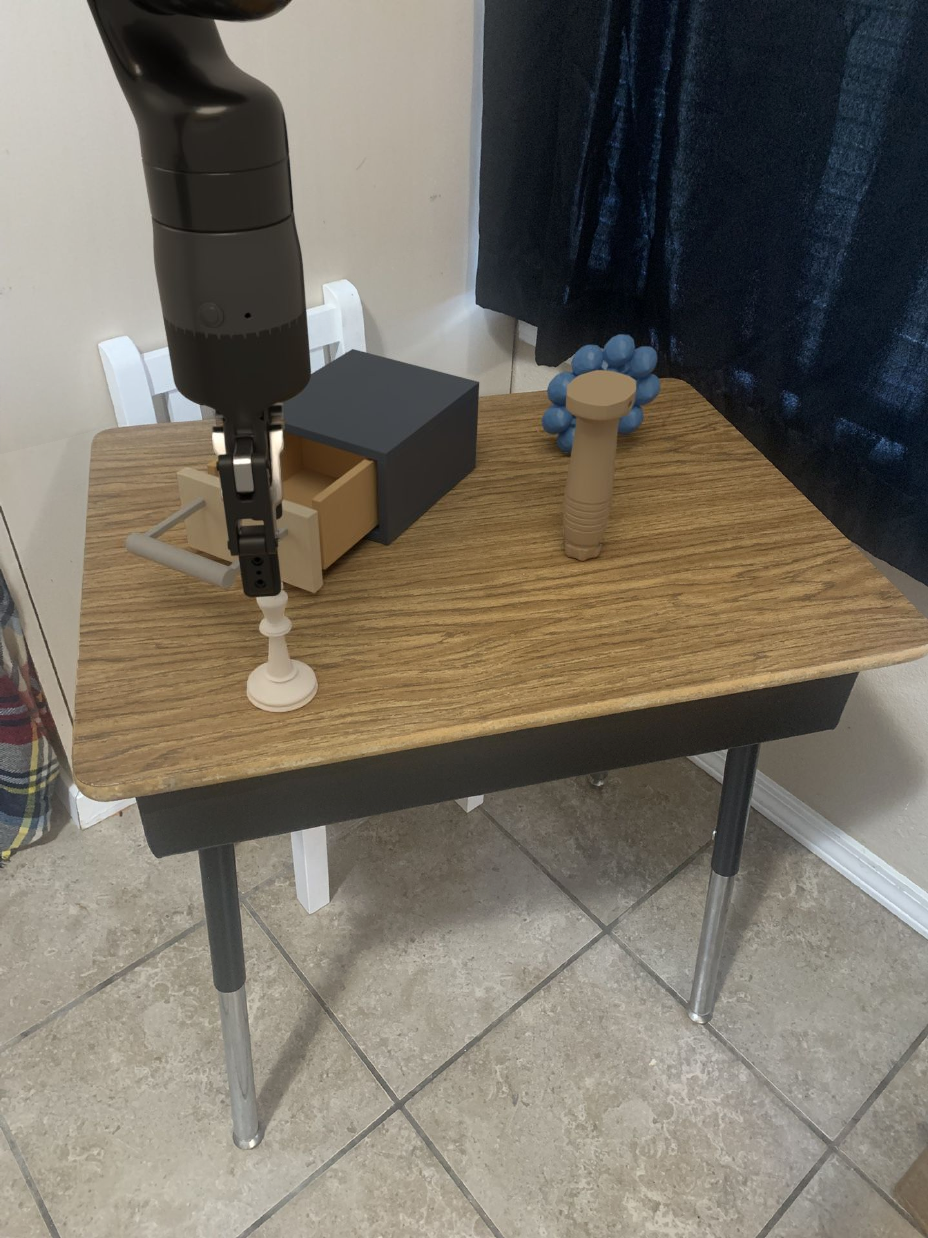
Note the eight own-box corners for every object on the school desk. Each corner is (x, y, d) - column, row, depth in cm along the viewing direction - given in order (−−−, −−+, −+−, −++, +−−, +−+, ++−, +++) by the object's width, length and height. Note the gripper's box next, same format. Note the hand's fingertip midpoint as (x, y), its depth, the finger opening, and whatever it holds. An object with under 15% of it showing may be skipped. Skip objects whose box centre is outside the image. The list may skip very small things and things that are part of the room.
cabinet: (388, 545, 83) (386, 453, 78) (258, 501, 88) (247, 411, 83) (476, 467, 94) (479, 381, 89) (356, 431, 99) (352, 348, 94)
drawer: (250, 648, 70) (239, 570, 66) (119, 595, 75) (101, 518, 71) (411, 508, 86) (411, 437, 82) (295, 470, 91) (289, 402, 86)
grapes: (634, 427, 102) (651, 314, 94) (659, 458, 97) (679, 341, 89) (526, 436, 99) (535, 321, 92) (546, 469, 94) (557, 350, 87)
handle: (622, 542, 84) (647, 379, 75) (591, 579, 80) (614, 411, 71) (571, 526, 86) (590, 365, 77) (538, 561, 82) (554, 395, 73)
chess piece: (273, 657, 71) (259, 543, 65) (331, 678, 70) (322, 563, 63) (232, 698, 68) (213, 581, 62) (292, 721, 66) (279, 604, 60)
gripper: (307, 352, 47) (327, 619, 57) (304, 255, 58) (322, 492, 68) (145, 357, 46) (195, 627, 56) (174, 257, 57) (211, 497, 67)
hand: (264, 553), depth 62 cm, fingers open, 8 cm apart
